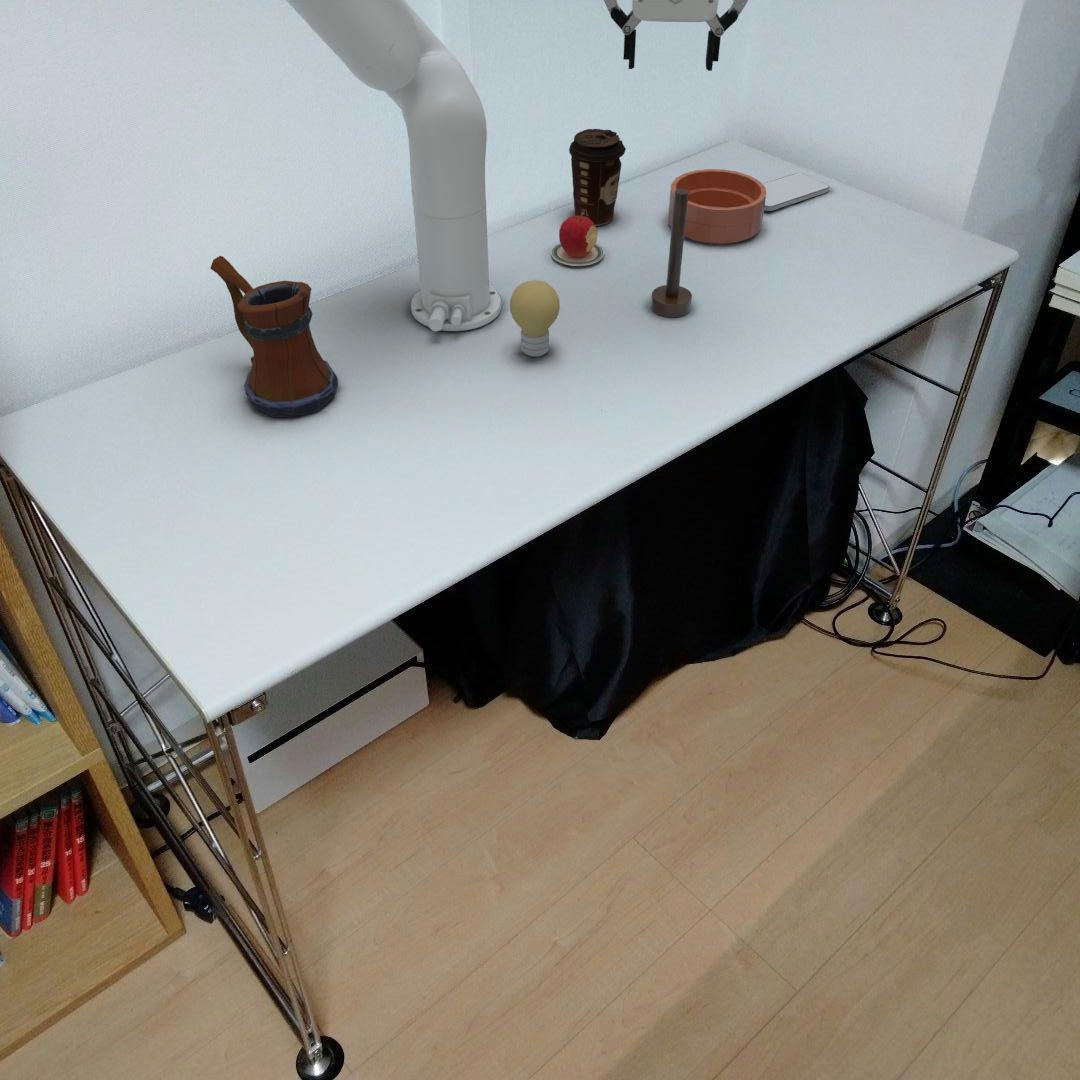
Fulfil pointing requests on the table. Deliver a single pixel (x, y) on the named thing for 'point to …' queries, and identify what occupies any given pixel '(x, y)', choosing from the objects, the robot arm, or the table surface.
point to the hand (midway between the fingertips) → (669, 66)
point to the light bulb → (534, 314)
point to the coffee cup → (596, 173)
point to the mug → (279, 345)
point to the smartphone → (792, 190)
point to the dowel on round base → (674, 266)
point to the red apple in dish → (577, 242)
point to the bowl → (720, 205)
